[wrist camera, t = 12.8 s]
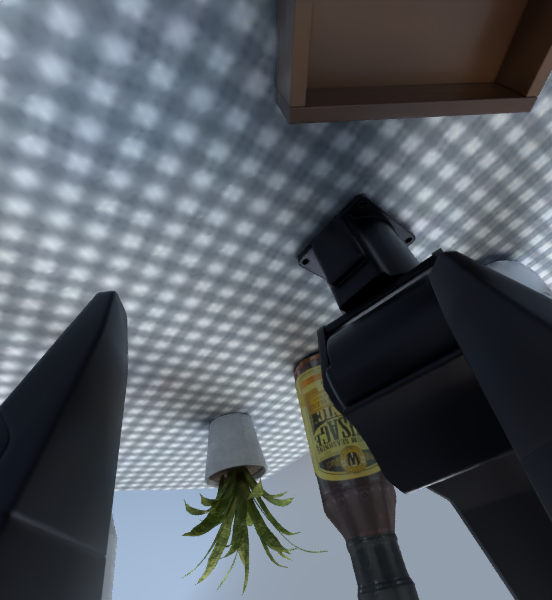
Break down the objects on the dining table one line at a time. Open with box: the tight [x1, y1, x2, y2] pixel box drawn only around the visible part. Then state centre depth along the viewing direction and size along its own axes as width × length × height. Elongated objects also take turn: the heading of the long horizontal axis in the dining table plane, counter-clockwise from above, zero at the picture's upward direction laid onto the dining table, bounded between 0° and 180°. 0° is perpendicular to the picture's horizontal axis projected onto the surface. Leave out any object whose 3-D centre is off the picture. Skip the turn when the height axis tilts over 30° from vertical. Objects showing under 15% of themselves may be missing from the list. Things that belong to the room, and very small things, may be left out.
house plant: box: [183, 413, 325, 593], centre depth 37 cm, size 14×14×16 cm
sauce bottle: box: [294, 353, 419, 600], centre depth 30 cm, size 6×6×20 cm
